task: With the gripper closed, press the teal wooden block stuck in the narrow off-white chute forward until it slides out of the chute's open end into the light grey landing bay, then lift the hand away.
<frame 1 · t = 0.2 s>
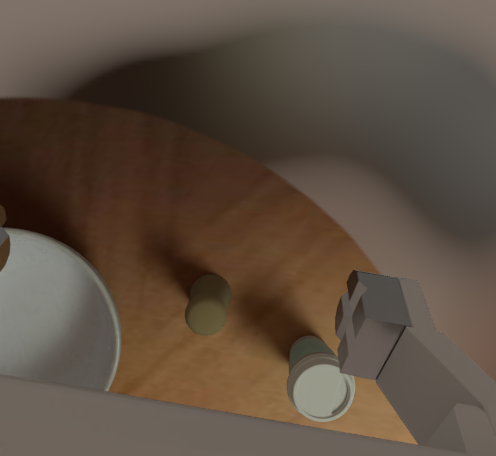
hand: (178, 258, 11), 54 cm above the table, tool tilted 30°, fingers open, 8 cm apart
decorative bowl: (49, 309, 67), on the table
coffee cup: (308, 353, 68), on the table
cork: (210, 294, 67), on the table
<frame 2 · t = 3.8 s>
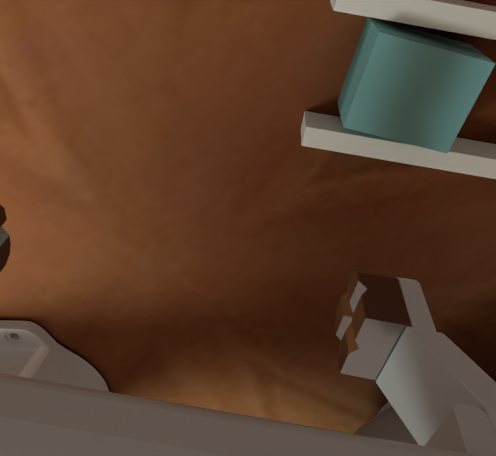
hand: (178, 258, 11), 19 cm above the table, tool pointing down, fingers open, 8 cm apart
decorative bowl: (438, 419, 46), on the table
teal block: (400, 73, 27), on the table
chute: (434, 80, 27), on the table
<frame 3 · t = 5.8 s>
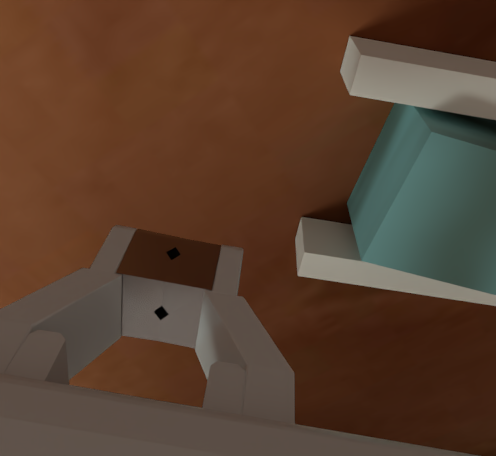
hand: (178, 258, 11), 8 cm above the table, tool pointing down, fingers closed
teal block: (441, 169, 18), on the table
chute: (491, 179, 18), on the table
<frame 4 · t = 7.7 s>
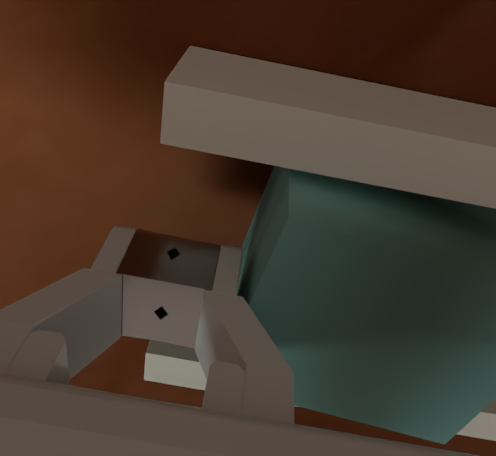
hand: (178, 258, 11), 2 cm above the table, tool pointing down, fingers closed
teal block: (358, 238, 13), on the table
chute: (422, 254, 13), on the table
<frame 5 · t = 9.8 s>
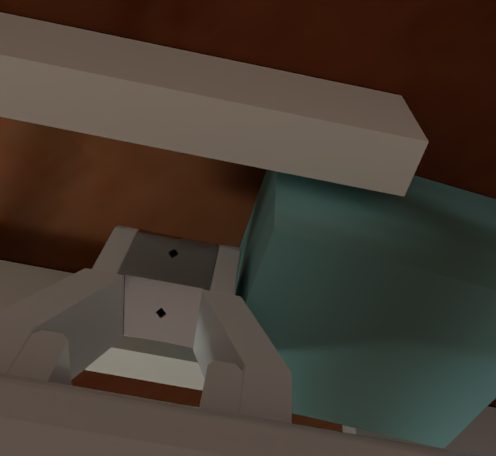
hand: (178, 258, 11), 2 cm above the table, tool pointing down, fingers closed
teal block: (352, 244, 13), on the table, touching gripper
chute: (97, 195, 13), on the table
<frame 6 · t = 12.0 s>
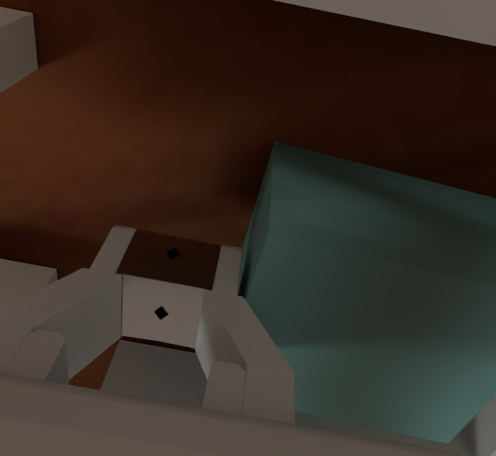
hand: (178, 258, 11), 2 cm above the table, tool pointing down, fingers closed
teal block: (352, 243, 13), on the table
landing bay: (337, 237, 13), on the table
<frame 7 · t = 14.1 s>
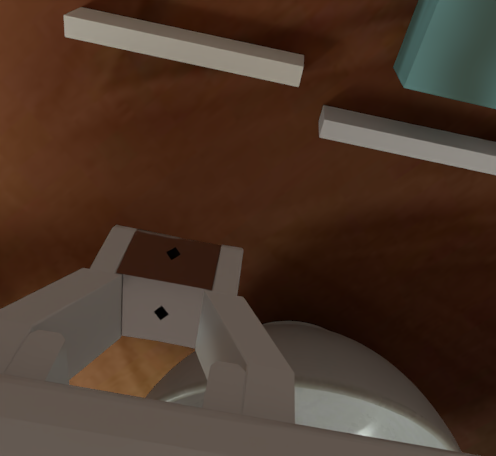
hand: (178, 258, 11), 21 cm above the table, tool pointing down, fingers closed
decorative bowl: (291, 362, 46), on the table
teal block: (458, 35, 27), on the table
landing bay: (451, 30, 27), on the table
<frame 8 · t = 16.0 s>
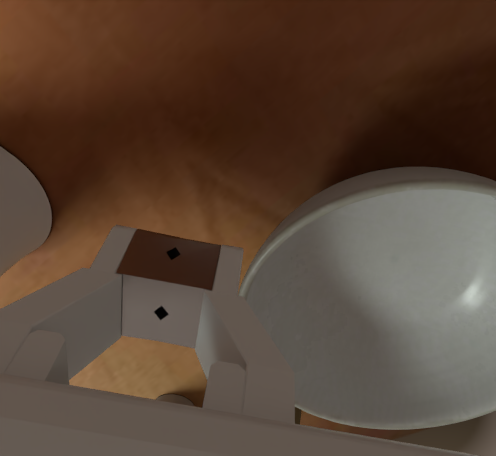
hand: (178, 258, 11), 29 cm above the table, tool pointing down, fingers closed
decorative bowl: (380, 239, 46), on the table
coffee cup: (174, 405, 65), on the table
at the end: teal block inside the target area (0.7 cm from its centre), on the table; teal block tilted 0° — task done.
